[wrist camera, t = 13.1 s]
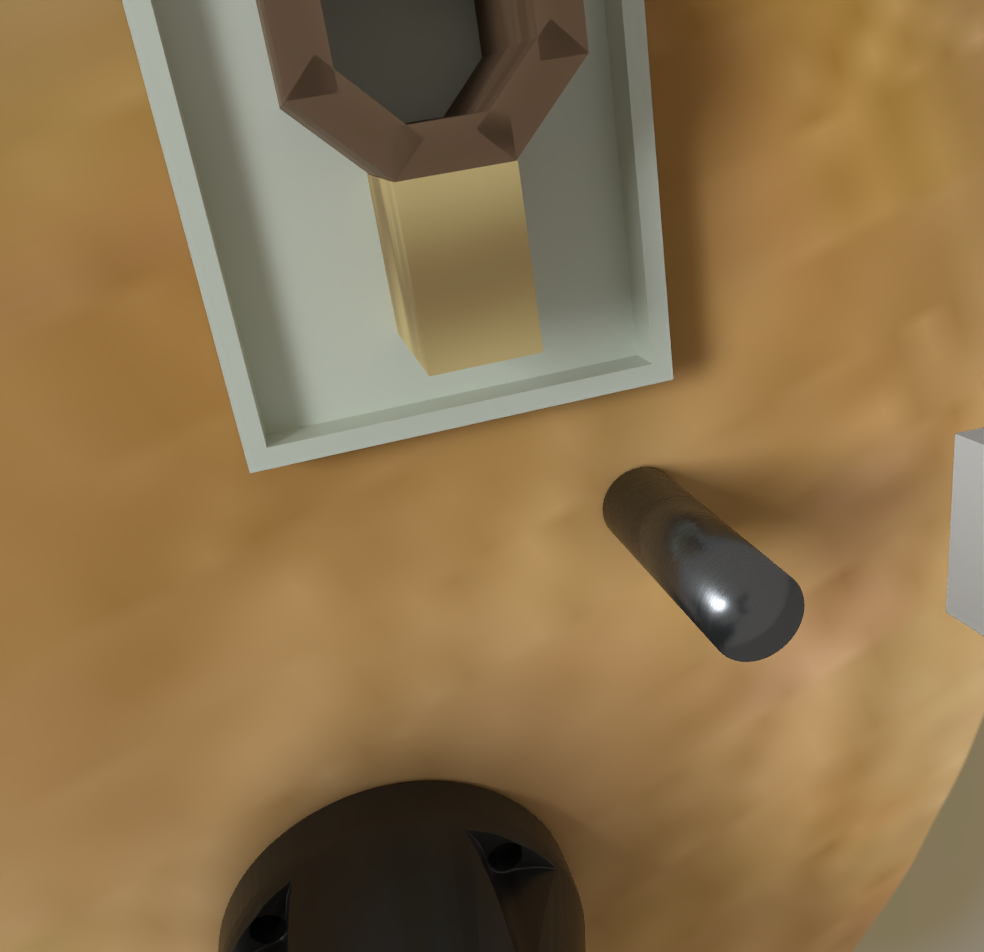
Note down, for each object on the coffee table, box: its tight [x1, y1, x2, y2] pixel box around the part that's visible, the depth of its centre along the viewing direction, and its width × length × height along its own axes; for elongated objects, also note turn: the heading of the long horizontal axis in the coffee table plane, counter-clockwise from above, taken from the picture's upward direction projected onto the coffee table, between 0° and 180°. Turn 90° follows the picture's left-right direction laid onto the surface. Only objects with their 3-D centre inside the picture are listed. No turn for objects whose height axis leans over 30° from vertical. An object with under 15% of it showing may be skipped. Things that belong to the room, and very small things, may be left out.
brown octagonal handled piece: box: [256, 0, 589, 376], centre depth 25 cm, size 12×8×6 cm, turn 9°
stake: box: [603, 467, 804, 662], centre depth 31 cm, size 3×3×9 cm
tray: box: [122, 0, 673, 473], centre depth 27 cm, size 18×14×2 cm
